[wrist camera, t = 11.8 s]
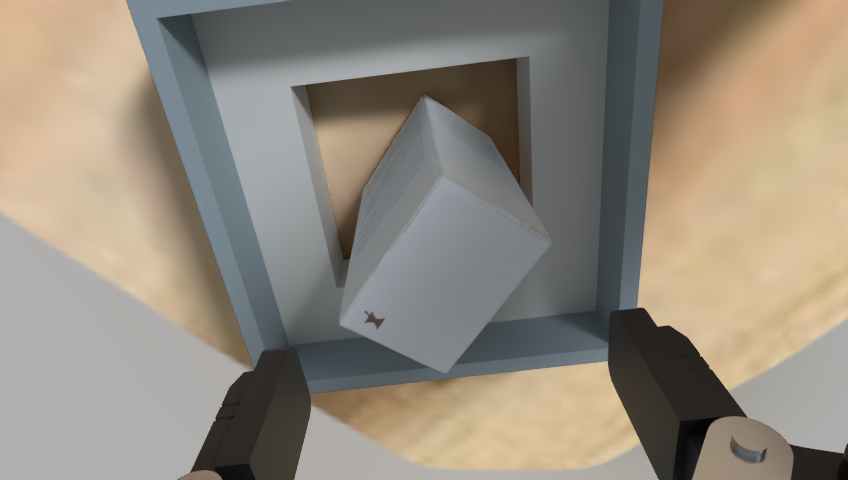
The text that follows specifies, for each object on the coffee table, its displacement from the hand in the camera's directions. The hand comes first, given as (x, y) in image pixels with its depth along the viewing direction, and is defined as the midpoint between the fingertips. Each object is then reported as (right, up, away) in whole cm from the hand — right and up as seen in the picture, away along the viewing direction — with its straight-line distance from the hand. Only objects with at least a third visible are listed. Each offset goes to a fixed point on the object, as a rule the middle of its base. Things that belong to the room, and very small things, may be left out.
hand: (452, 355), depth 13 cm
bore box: (-1, +7, +13) cm, 15 cm away
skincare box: (-1, +7, +13) cm, 15 cm away
